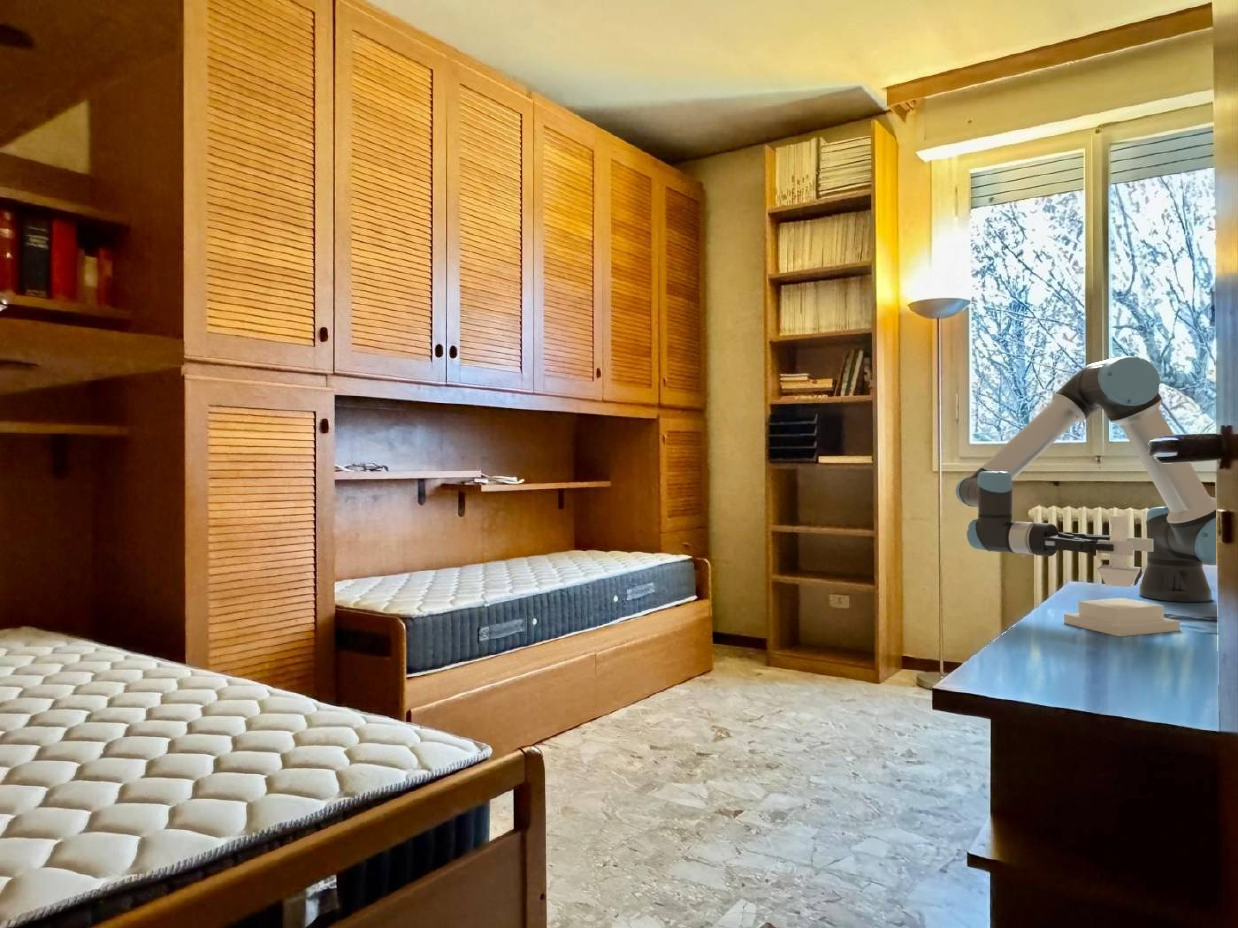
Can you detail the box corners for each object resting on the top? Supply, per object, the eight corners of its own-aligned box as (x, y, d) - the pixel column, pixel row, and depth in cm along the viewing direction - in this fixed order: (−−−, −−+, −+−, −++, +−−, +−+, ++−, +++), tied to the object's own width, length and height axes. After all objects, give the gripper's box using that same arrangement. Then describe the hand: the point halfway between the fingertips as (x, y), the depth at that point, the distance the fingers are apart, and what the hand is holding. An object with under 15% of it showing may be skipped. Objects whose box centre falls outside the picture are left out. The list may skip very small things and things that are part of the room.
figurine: (1096, 586, 171) (1095, 515, 171) (1103, 580, 178) (1103, 513, 178) (1136, 589, 166) (1135, 517, 166) (1142, 583, 174) (1141, 514, 173)
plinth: (1122, 617, 181) (1121, 595, 181) (1180, 630, 168) (1180, 606, 167) (1064, 622, 177) (1063, 600, 177) (1119, 636, 163) (1118, 611, 163)
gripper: (1058, 551, 193) (1164, 560, 175) (1010, 558, 180) (1118, 569, 162) (1058, 520, 193) (1164, 525, 175) (1010, 525, 180) (1118, 532, 162)
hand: (1142, 547), depth 168 cm, fingers closed on figurine, 9 cm apart
